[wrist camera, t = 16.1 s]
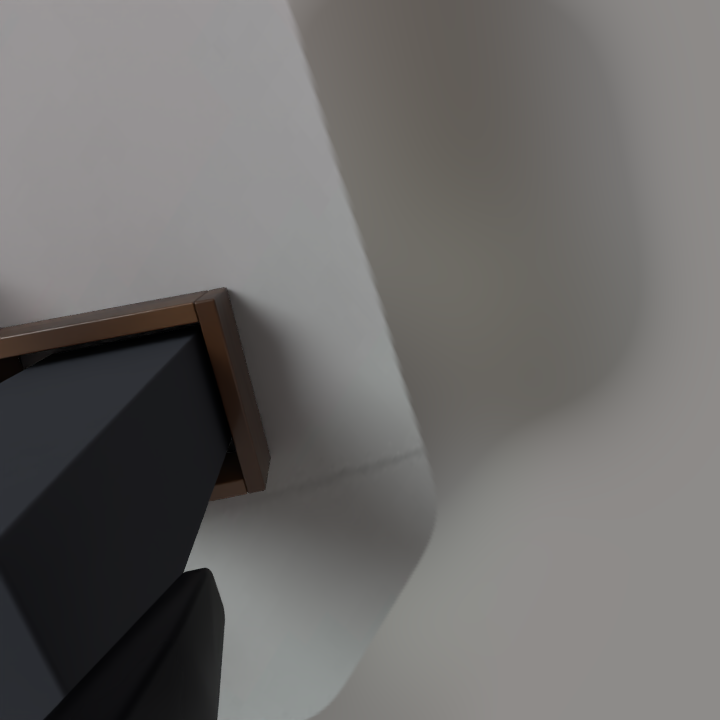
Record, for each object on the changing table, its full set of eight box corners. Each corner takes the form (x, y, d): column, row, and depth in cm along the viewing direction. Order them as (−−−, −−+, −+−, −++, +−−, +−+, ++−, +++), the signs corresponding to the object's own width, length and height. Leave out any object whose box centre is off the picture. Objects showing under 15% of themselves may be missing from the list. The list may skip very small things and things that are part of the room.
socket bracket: (226, 286, 18) (214, 298, 16) (271, 458, 20) (265, 490, 18) (-13, 330, 18) (-63, 349, 15) (60, 500, 20) (26, 539, 18)
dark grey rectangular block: (206, 323, 18) (-11, 547, 6) (237, 426, 20) (110, 780, 7) (51, 354, 18) (-496, 651, 6) (93, 456, 20) (-281, 871, 7)
